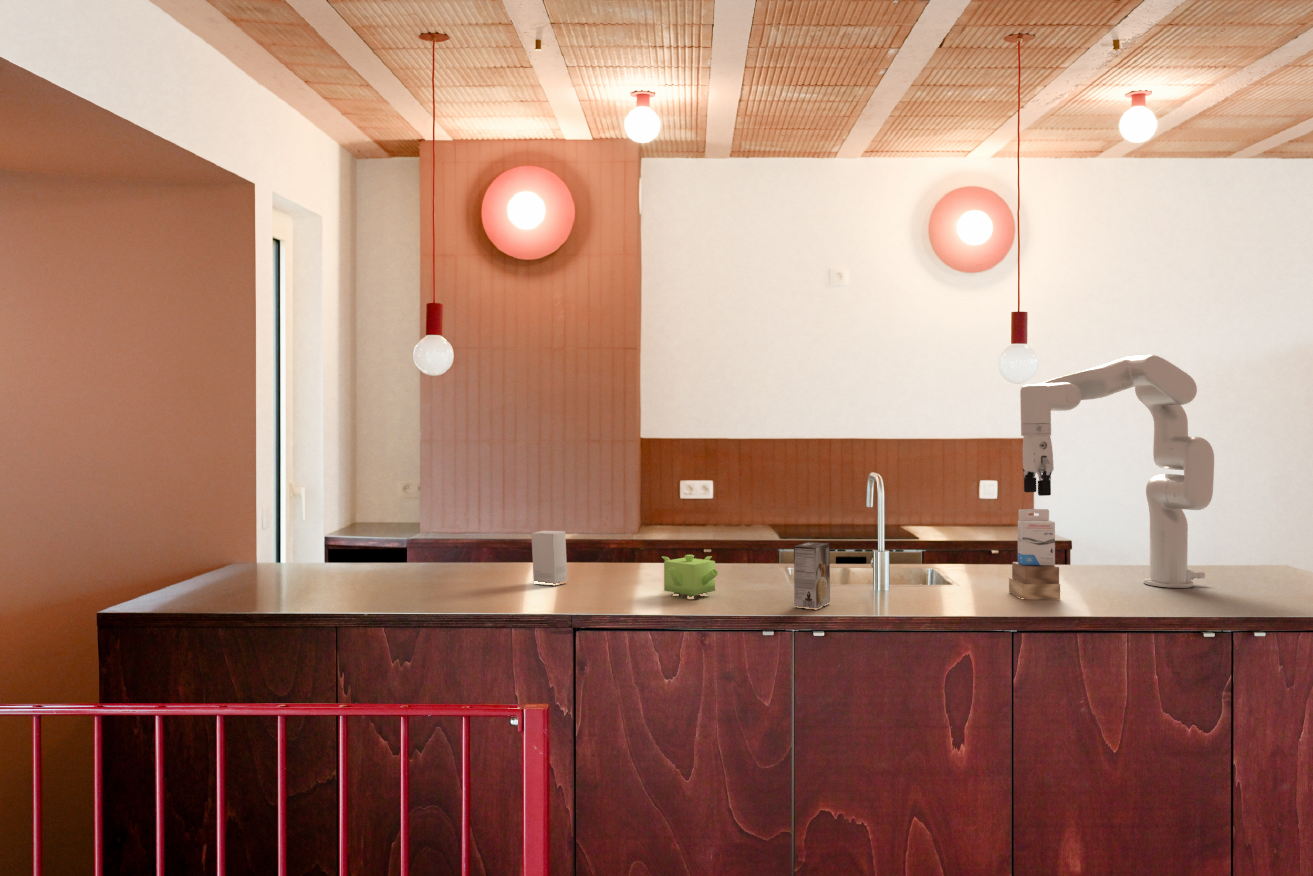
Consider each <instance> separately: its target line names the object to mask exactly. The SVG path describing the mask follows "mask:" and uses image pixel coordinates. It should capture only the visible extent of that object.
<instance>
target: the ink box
mask: <svg viewBox="0 0 1313 876" xmlns="http://www.w3.org/2000/svg"><path fill="white" fill-rule="evenodd" d="M1017 511H1018V515H1017V518H1018V520H1017V562H1018V563H1019V564H1022V565H1050V566H1054V565H1055V566H1056V529H1055V528H1056V522H1055V521H1053V520H1050V510H1049V508H1047V509H1044V508H1043V509H1042V508H1024V509H1023V508H1019V509H1018V510H1017ZM1033 513H1034V514H1038V515H1029V514H1033Z"/></svg>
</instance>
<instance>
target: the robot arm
mask: <svg viewBox="0 0 1313 876" xmlns="http://www.w3.org/2000/svg"><path fill="white" fill-rule="evenodd" d="M1197 387H1198V386H1197V384H1196V381H1195V380H1194V378H1193V377H1192V376H1191V375H1189V374H1188V373H1187V372H1186V371H1184V370H1183V369H1182V368H1180V367H1178V366H1176V365H1174V364H1173V363H1171V362H1170V361H1169V360H1166V358H1164V357H1161V356H1158V355H1155V354H1148V355H1147V354H1146V355H1131V356H1125V357H1122V358H1119V359H1115V360H1113V361H1110V362H1108V363H1105V364H1102V365H1101V364H1100V365H1099V366H1096V367H1095V366H1094V367H1092V368H1089V369H1085V370H1082V371H1078V372H1074V373H1070V374H1067V375H1062V376H1060V377H1059V376H1058V377H1055V378H1052V379H1049V380H1046V381H1044V382H1041V383H1035V384H1025V385H1022V386H1021V387H1020V396H1019V397H1020V436H1021V437H1022V440H1023V441H1022V471H1023V476H1022V477H1023V491H1024V493H1036V492H1037V495H1038V496H1039V497H1042V496H1051V494H1052V490H1051V489H1052V488H1051V487H1052V486H1051V483H1052V476H1051V475H1052V473H1053V471H1054V453H1053V443H1052V437H1051V436H1052V416H1051V415H1052V412H1053V411H1054V412H1057V411H1058V412H1063V411H1064V412H1065V411H1071V410H1072V409H1075V408H1077V407H1078V406H1079V405H1080V403H1081V401H1087V400H1096V399H1102V398H1105V397H1108V396H1111V395H1113V394H1116V393H1120V392H1121V391H1124V390H1129V389H1131V388H1134V392H1135V395H1136V397H1137V399H1138V401H1140V402H1141V403H1142V404H1143V405H1144V406H1145V407H1146V408H1147V409H1148V410H1149V412H1150V414H1151V416H1152V419H1153V446H1152V448H1153V450H1152V451H1153V453H1152V454H1153V461H1154V464H1155V465H1156V466H1157V467H1159V468H1161V469H1166V470H1175V471H1176V470H1177V471H1178V470H1179V471H1183V474H1173V473H1163V474H1162V473H1161V474H1157V475H1154V476H1152V477H1151V478H1150V479H1149V480H1148V481H1147V484H1146V487H1145V496H1146V501H1147V503H1148V511H1149V577H1145V578H1143V583H1144V584H1146V585H1148V586H1153V587H1160V588H1169V589H1170V588H1171V589H1172V588H1173V589H1186V588H1193V587H1194V585H1195V584H1194V581H1193V580H1195V579H1197V580H1198V579H1205V577H1206V573H1205V572H1204V571H1194V570H1193V571H1192V569H1189V568H1188V549H1189V548H1188V546H1189V545H1188V543H1189V542H1188V538H1189V537H1188V535H1189V534H1188V531H1189V528H1188V526H1189V525H1188V519H1187V517H1186V515H1185V513H1184V510H1189V511H1201V510H1204V509H1206V508H1207V507H1208V506H1209V505H1210V504H1211V501H1212V499H1213V493H1214V475H1215V453H1214V450H1213V447H1212V445H1211V443H1210V442H1209V441H1208V440H1207V439H1205V438H1204V437H1201V436H1189V425H1188V421H1189V419H1188V416H1187V413H1186V411H1185V409H1184V407H1183V406H1182V405H1187V404H1190V403H1191V402H1193V400H1194V399H1195V397H1196V395H1197V391H1198V388H1197ZM1051 411H1052V412H1051ZM1036 474H1037V477H1038V480H1037V477H1036Z"/></svg>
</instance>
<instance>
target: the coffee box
mask: <svg viewBox="0 0 1313 876" xmlns="http://www.w3.org/2000/svg"><path fill="white" fill-rule="evenodd" d="M830 556H831V555H830V542H815V541H814V542H813V541H807V542H804V543H800V544H797V545H794V546H793V590H794V591H793V595H794V597H793V598H794V600H793V601H794V602H793V603H794V604H793V605H794V606H798V607H809V608H819V607H821V606H824V605H825V604H827V603H829V602H830V603H831V584H830V583H831V581H830V580H831V579H830V578H831V576H830V574H831V567H830V566H831V565H830V562H831V561H830V559H831V558H830Z"/></svg>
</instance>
